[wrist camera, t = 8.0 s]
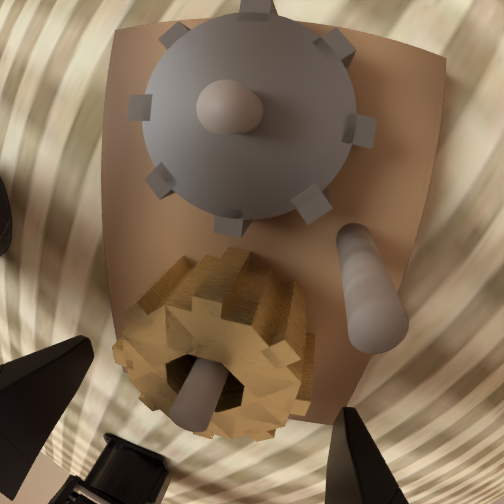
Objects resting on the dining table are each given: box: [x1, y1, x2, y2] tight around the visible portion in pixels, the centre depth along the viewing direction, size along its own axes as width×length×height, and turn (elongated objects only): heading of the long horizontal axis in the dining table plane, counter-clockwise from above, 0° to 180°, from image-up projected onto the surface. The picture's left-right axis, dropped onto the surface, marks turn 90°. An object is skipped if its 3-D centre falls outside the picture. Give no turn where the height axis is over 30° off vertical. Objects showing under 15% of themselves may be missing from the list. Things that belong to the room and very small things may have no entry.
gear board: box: [101, 0, 446, 432], centre depth 9 cm, size 12×17×6 cm
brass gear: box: [112, 247, 315, 441], centre depth 10 cm, size 7×7×4 cm
